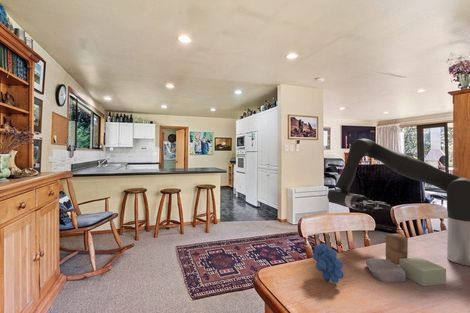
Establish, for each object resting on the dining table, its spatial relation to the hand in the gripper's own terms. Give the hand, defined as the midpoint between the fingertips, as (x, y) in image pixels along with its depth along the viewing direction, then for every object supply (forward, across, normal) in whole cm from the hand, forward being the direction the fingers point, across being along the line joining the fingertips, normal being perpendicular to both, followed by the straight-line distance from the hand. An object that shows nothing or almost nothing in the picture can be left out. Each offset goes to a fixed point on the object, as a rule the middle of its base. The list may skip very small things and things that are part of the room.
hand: (381, 208), depth 103 cm
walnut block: (+10, -3, +18) cm, 21 cm away
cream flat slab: (+10, -3, +19) cm, 22 cm away
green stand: (+20, -3, +20) cm, 29 cm away
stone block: (+15, -14, +20) cm, 29 cm away
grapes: (+16, -37, +19) cm, 45 cm away
